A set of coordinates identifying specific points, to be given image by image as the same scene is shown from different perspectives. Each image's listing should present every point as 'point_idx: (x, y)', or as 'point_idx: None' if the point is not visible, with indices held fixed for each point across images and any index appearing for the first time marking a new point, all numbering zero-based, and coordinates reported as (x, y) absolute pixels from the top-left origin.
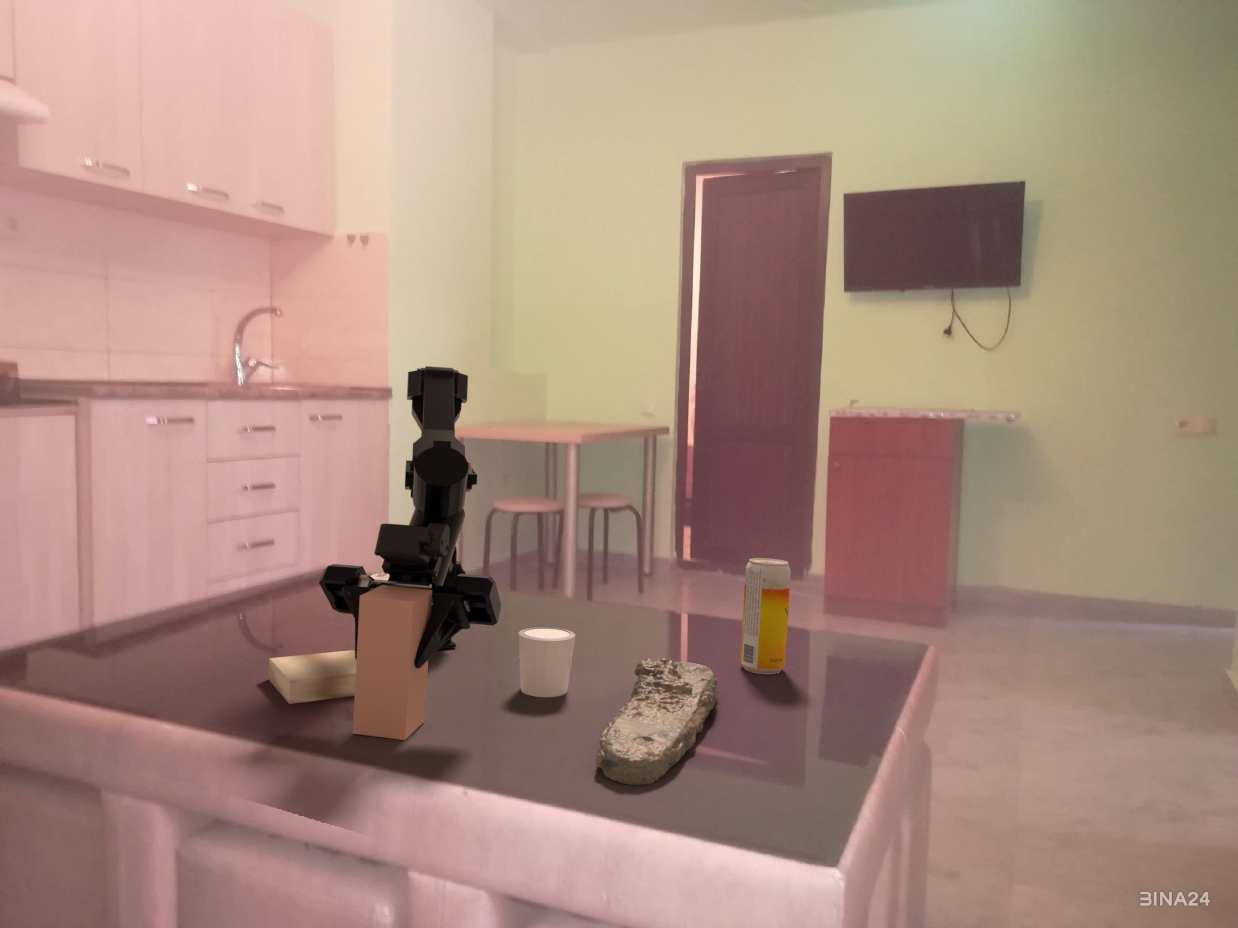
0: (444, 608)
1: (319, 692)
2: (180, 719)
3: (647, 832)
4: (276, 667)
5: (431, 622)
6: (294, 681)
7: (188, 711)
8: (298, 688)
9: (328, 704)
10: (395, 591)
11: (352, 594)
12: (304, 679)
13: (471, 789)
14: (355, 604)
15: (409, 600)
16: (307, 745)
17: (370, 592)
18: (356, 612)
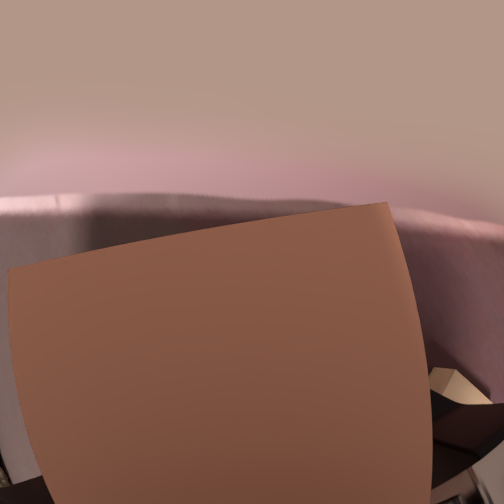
0: (40, 482)
1: None
2: (475, 248)
3: None
4: (491, 403)
5: None
6: (450, 375)
7: (486, 273)
8: (440, 380)
9: None
10: (259, 499)
11: (499, 409)
12: (444, 389)
13: (53, 209)
14: (461, 411)
15: (26, 284)
16: None
17: (404, 347)
18: (433, 397)
